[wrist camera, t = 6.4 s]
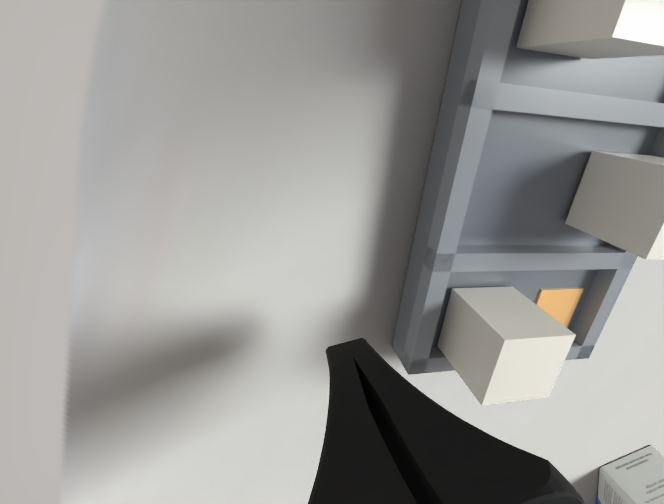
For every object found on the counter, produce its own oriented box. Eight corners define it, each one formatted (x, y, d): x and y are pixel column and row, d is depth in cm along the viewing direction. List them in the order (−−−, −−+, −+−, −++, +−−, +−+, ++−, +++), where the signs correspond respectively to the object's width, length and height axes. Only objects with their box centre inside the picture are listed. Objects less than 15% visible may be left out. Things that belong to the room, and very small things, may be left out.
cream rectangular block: (651, 155, 15) (757, 175, 12) (620, 224, 16) (710, 258, 13) (592, 150, 14) (689, 170, 11) (564, 223, 16) (645, 259, 12)
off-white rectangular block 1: (512, 286, 16) (576, 335, 13) (493, 341, 18) (548, 397, 14) (452, 288, 16) (504, 340, 13) (437, 345, 17) (481, 405, 14)
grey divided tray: (717, -42, 14) (788, -60, 12) (558, 333, 21) (588, 357, 19) (483, -105, 11) (528, -138, 9) (391, 345, 18) (408, 374, 16)
